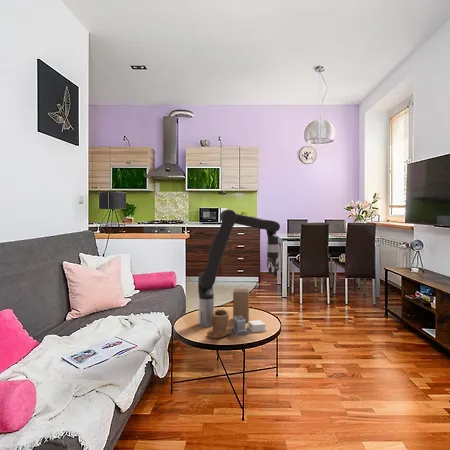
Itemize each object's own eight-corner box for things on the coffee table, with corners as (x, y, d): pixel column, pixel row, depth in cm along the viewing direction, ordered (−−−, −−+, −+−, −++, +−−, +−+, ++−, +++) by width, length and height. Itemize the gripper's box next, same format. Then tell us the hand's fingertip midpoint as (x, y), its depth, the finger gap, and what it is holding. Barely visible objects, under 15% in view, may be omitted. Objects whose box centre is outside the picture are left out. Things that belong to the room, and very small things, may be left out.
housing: (237, 331, 203) (237, 319, 203) (233, 327, 211) (233, 315, 210) (245, 331, 204) (245, 318, 204) (241, 326, 212) (241, 314, 212)
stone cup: (217, 342, 193) (217, 315, 193) (204, 336, 202) (204, 310, 201) (237, 335, 203) (237, 310, 202) (223, 330, 212) (223, 305, 211)
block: (248, 318, 236) (249, 288, 235) (248, 322, 226) (248, 292, 225) (234, 317, 236) (234, 288, 236) (232, 322, 227) (233, 291, 226)
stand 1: (235, 335, 203) (235, 332, 203) (231, 330, 211) (231, 327, 210) (248, 334, 205) (248, 330, 205) (243, 329, 213) (243, 326, 213)
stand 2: (252, 332, 208) (252, 325, 208) (247, 327, 217) (247, 320, 217) (266, 330, 211) (266, 324, 210) (261, 326, 219) (261, 319, 219)
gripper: (263, 250, 237) (263, 273, 238) (271, 252, 224) (271, 277, 224) (273, 249, 239) (273, 273, 240) (282, 252, 226) (282, 277, 226)
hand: (272, 275), depth 232 cm, fingers open, 8 cm apart
